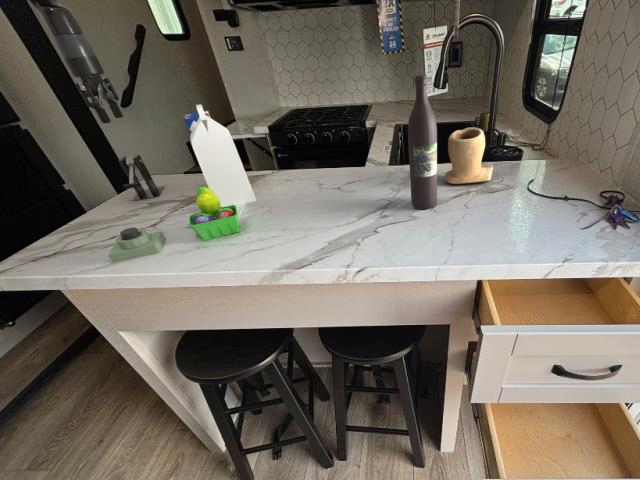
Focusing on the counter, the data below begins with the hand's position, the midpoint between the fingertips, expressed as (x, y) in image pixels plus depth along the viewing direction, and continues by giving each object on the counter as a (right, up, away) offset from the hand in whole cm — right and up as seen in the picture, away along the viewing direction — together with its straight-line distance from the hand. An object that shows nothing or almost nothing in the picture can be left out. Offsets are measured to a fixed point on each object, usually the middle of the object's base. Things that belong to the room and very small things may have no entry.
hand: (113, 120), depth 104 cm
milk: (+36, -24, +3) cm, 43 cm away
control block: (+24, -43, -20) cm, 53 cm away
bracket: (+4, -20, +10) cm, 23 cm away
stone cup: (+110, -19, +1) cm, 112 cm away
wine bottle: (+95, -29, -10) cm, 100 cm away
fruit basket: (+41, -38, -15) cm, 58 cm away
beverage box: (+27, -15, +14) cm, 34 cm away
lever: (+4, -16, +3) cm, 17 cm away
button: (+23, -40, -22) cm, 51 cm away
